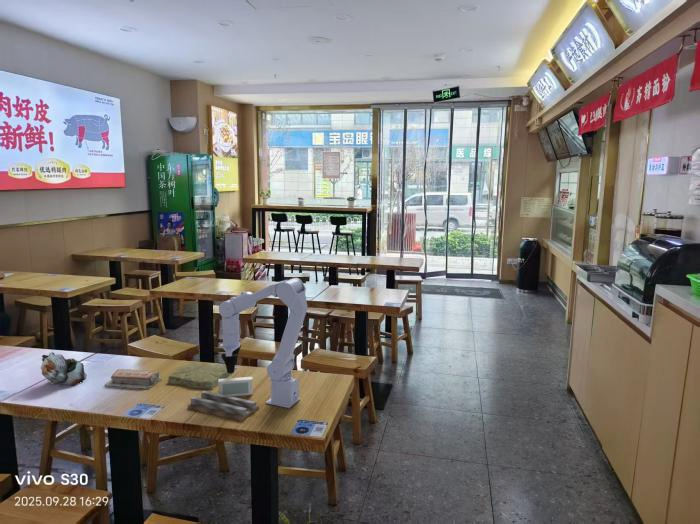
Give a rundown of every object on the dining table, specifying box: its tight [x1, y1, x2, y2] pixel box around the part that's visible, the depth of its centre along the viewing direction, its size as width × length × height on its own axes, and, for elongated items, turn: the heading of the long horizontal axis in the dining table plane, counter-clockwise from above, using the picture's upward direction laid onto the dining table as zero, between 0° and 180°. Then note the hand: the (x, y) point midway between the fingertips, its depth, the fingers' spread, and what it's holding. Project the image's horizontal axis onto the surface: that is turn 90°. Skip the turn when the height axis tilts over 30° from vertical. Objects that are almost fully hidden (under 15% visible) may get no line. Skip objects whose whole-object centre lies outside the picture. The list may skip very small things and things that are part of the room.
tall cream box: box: [217, 376, 254, 397], centre depth 172 cm, size 12×3×6 cm, turn 102°
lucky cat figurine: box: [40, 351, 87, 386], centre depth 180 cm, size 15×12×14 cm
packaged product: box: [104, 368, 163, 390], centre depth 182 cm, size 18×5×10 cm
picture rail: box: [187, 390, 260, 422], centre depth 161 cm, size 22×10×3 cm, turn 67°
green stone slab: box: [167, 361, 233, 390], centre depth 187 cm, size 19×20×4 cm
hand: (232, 368), depth 172 cm, fingers open, 7 cm apart
